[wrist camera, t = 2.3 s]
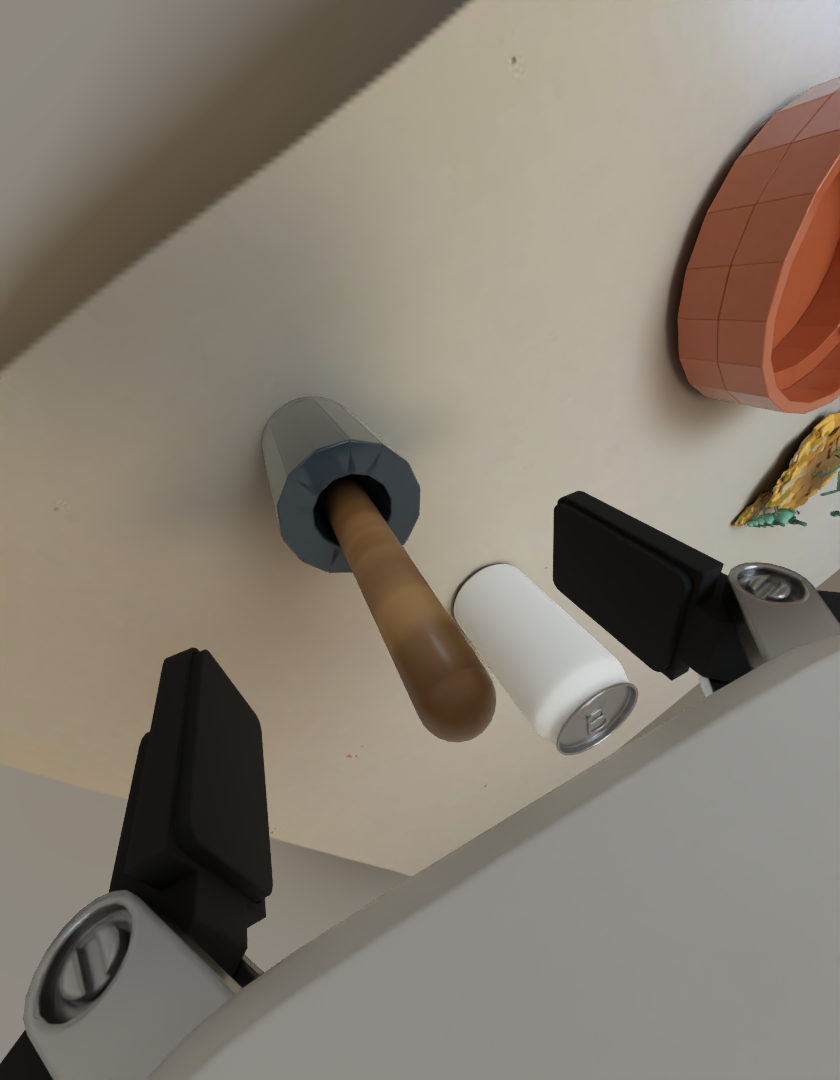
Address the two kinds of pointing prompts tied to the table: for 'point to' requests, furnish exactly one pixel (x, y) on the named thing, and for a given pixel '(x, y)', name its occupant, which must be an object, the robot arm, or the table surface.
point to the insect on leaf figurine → (800, 477)
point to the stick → (411, 619)
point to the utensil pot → (331, 476)
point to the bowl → (771, 268)
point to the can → (544, 659)
